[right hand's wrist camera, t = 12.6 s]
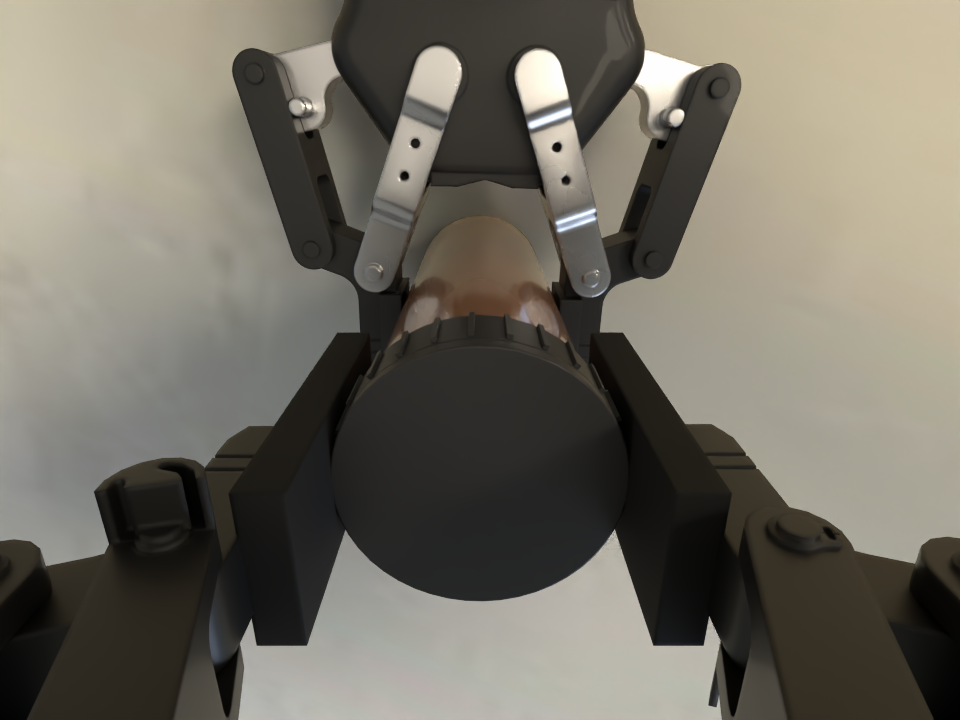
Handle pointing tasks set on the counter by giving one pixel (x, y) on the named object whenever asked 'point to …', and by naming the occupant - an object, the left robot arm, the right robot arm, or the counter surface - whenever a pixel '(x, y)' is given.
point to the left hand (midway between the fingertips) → (478, 390)
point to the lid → (479, 459)
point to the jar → (480, 279)
